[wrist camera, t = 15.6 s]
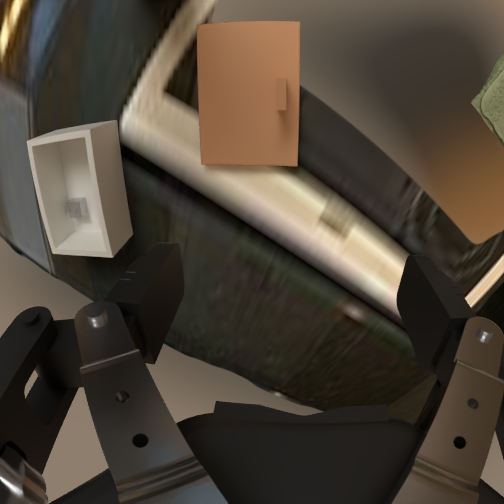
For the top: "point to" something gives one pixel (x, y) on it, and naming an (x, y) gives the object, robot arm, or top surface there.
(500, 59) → the washcloth
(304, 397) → the top surface
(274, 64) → the snap lid
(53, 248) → the parts tub
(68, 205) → the steel block
